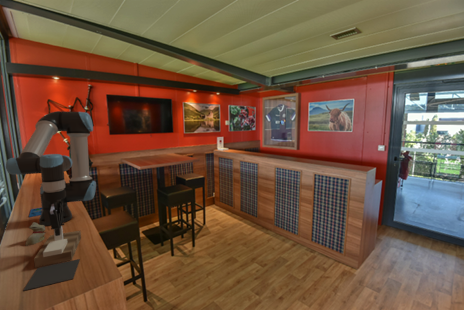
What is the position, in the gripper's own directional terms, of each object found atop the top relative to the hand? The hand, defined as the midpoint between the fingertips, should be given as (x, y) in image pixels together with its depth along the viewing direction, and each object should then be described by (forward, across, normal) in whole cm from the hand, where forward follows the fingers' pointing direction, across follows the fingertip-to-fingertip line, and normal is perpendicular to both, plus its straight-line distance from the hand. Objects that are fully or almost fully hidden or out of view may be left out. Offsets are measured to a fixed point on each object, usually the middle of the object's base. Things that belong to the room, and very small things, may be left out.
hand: (59, 241), depth 95 cm
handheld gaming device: (+5, -61, -25) cm, 66 cm away
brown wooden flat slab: (+5, -1, 0) cm, 5 cm away
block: (+1, +5, 0) cm, 5 cm away
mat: (+5, +17, +2) cm, 18 cm away
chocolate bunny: (+5, -16, -13) cm, 21 cm away
